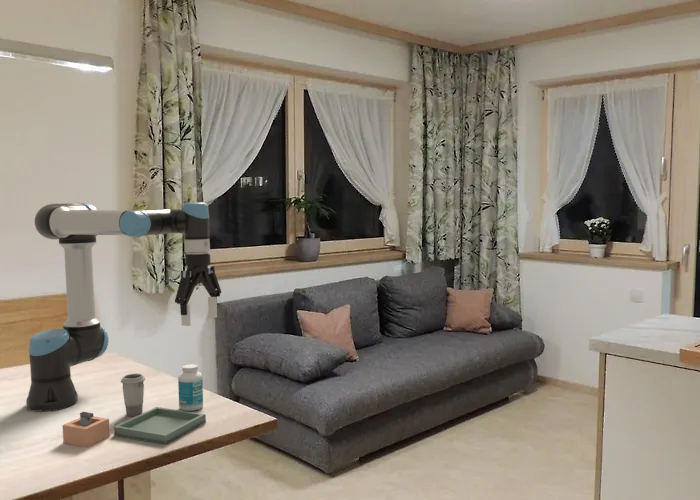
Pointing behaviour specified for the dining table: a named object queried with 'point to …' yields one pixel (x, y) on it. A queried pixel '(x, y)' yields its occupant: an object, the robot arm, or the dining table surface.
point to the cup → (133, 393)
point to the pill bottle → (190, 388)
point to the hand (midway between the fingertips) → (199, 321)
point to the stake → (85, 418)
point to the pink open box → (86, 432)
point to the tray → (160, 425)
